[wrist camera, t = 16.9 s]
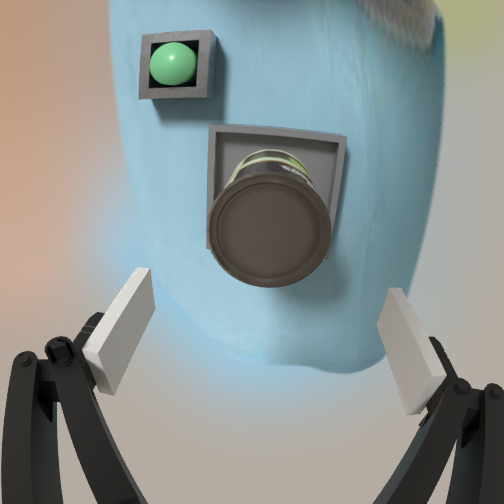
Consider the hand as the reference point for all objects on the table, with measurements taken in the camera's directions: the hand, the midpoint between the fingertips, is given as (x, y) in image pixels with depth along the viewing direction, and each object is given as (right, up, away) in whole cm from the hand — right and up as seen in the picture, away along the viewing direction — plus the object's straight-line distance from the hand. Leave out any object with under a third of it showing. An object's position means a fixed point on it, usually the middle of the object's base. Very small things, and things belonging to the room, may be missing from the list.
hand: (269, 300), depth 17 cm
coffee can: (+1, +10, +22) cm, 24 cm away
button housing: (-9, +25, +16) cm, 31 cm away
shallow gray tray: (+2, +11, +22) cm, 25 cm away
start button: (-9, +25, +15) cm, 30 cm away
